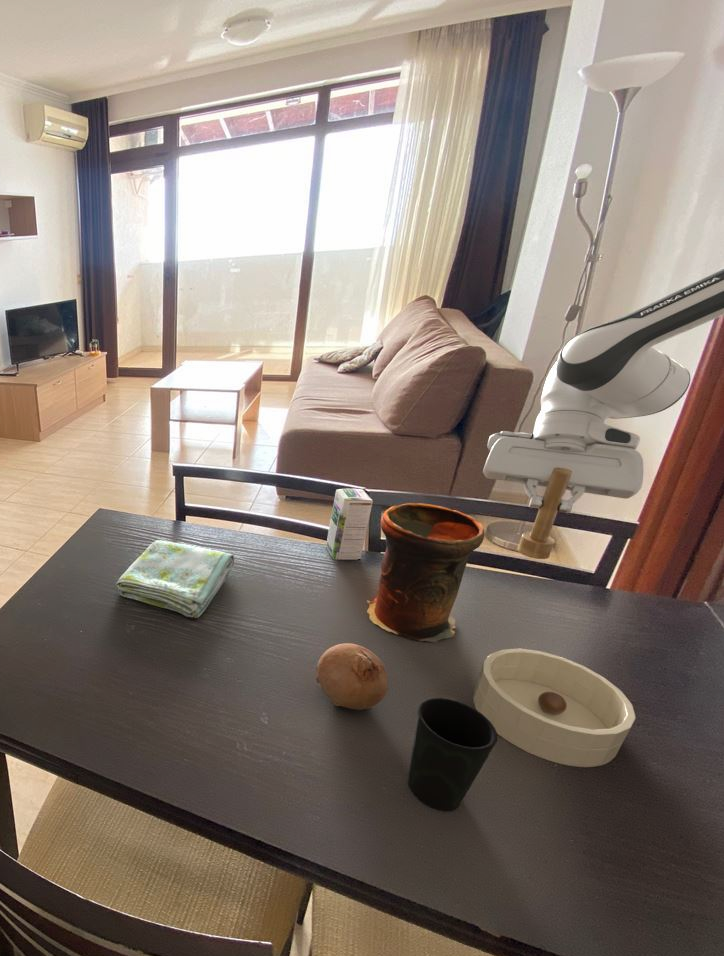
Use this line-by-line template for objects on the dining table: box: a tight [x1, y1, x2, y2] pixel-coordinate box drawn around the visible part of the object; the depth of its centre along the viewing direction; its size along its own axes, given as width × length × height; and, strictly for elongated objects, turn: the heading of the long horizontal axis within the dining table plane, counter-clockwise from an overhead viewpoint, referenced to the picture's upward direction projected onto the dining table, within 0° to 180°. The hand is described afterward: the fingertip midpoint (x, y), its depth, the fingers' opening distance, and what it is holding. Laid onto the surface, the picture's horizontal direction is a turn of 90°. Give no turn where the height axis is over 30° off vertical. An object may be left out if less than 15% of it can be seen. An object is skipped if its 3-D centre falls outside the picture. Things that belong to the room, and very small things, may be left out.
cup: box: [407, 697, 498, 812], centre depth 65 cm, size 8×8×12 cm
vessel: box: [366, 502, 486, 643], centre depth 93 cm, size 14×14×20 cm
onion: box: [315, 642, 389, 711], centre depth 80 cm, size 10×9×10 cm
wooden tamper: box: [517, 467, 572, 560], centre depth 92 cm, size 4×4×16 cm
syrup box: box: [325, 488, 374, 561], centre depth 115 cm, size 6×6×14 cm
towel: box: [115, 539, 235, 619], centre depth 111 cm, size 18×21×5 cm
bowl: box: [472, 648, 637, 768], centre depth 75 cm, size 16×16×6 cm
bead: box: [538, 692, 567, 714], centre depth 76 cm, size 3×3×3 cm
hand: (549, 509), depth 92 cm, fingers closed on wooden tamper, 2 cm apart
